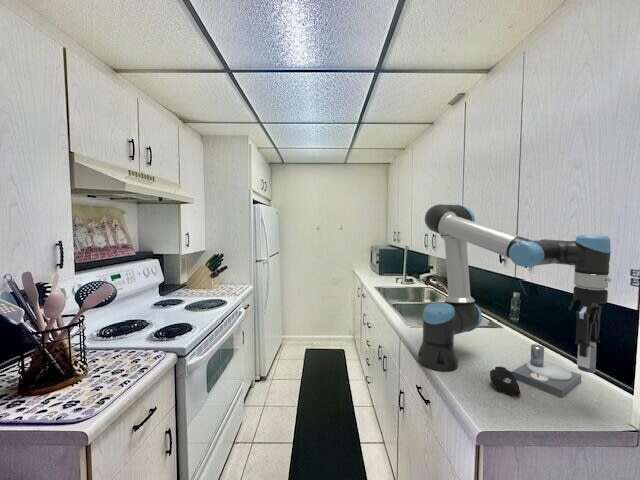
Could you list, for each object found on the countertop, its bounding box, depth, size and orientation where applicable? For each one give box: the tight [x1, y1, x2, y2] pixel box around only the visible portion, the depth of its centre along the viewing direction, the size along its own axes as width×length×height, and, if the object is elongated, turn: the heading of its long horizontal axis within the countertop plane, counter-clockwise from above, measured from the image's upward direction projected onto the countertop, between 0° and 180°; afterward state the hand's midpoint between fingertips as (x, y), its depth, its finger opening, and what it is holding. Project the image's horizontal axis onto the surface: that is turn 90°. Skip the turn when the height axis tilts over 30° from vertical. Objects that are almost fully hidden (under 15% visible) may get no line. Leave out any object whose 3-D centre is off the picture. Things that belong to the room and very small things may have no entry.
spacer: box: [529, 343, 545, 367], centre depth 112 cm, size 4×4×7 cm
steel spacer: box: [576, 345, 597, 374], centre depth 89 cm, size 4×4×7 cm
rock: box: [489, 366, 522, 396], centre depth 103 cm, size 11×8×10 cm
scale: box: [511, 360, 582, 399], centre depth 108 cm, size 18×15×4 cm
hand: (586, 364), depth 90 cm, fingers closed on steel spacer, 4 cm apart
